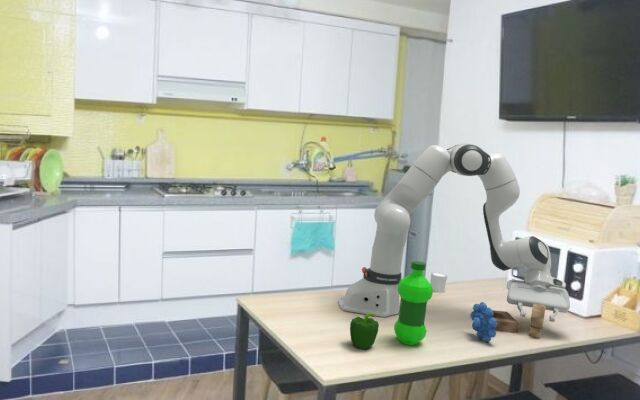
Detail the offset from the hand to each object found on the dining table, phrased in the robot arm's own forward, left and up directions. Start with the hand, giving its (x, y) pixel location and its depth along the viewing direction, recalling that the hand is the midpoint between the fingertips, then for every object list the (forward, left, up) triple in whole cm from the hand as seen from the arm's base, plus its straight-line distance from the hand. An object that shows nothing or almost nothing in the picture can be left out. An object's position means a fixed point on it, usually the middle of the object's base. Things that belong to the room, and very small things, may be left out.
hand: (537, 318), depth 185 cm
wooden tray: (-11, +8, -6) cm, 15 cm away
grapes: (-22, -8, -7) cm, 24 cm away
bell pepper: (-61, -23, -7) cm, 66 cm away
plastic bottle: (-46, -16, -7) cm, 49 cm away
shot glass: (-23, +46, -7) cm, 52 cm away
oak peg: (0, 0, -6) cm, 6 cm away
